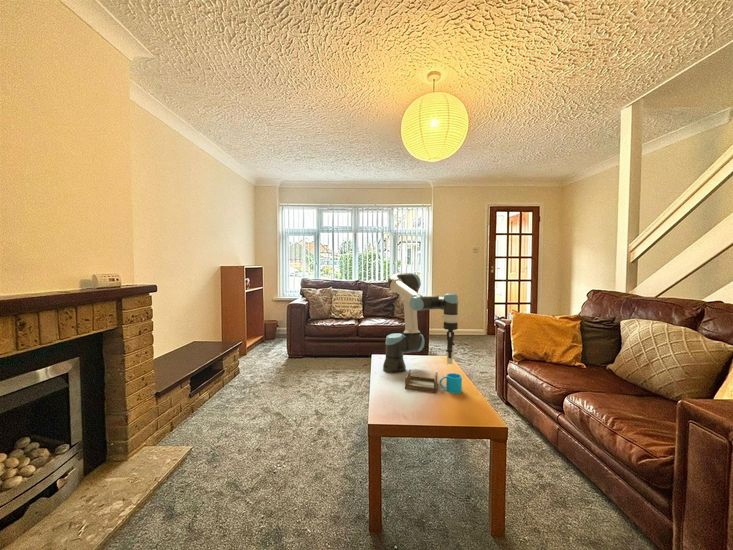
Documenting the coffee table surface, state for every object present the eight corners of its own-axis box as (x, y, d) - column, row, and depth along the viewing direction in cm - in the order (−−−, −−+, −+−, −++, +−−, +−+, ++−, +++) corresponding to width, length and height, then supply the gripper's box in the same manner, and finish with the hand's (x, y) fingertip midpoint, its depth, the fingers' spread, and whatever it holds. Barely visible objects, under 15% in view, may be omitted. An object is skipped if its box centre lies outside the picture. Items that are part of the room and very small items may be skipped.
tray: (409, 379, 181) (409, 369, 180) (437, 382, 176) (437, 372, 175) (405, 388, 166) (405, 378, 166) (435, 392, 161) (435, 381, 161)
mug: (460, 388, 168) (460, 373, 168) (463, 393, 160) (463, 378, 160) (438, 386, 169) (438, 372, 169) (440, 392, 161) (440, 377, 161)
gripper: (444, 318, 177) (444, 353, 177) (442, 325, 153) (441, 366, 153) (458, 318, 175) (457, 354, 175) (457, 326, 151) (456, 367, 151)
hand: (450, 360), depth 164 cm, fingers open, 13 cm apart
